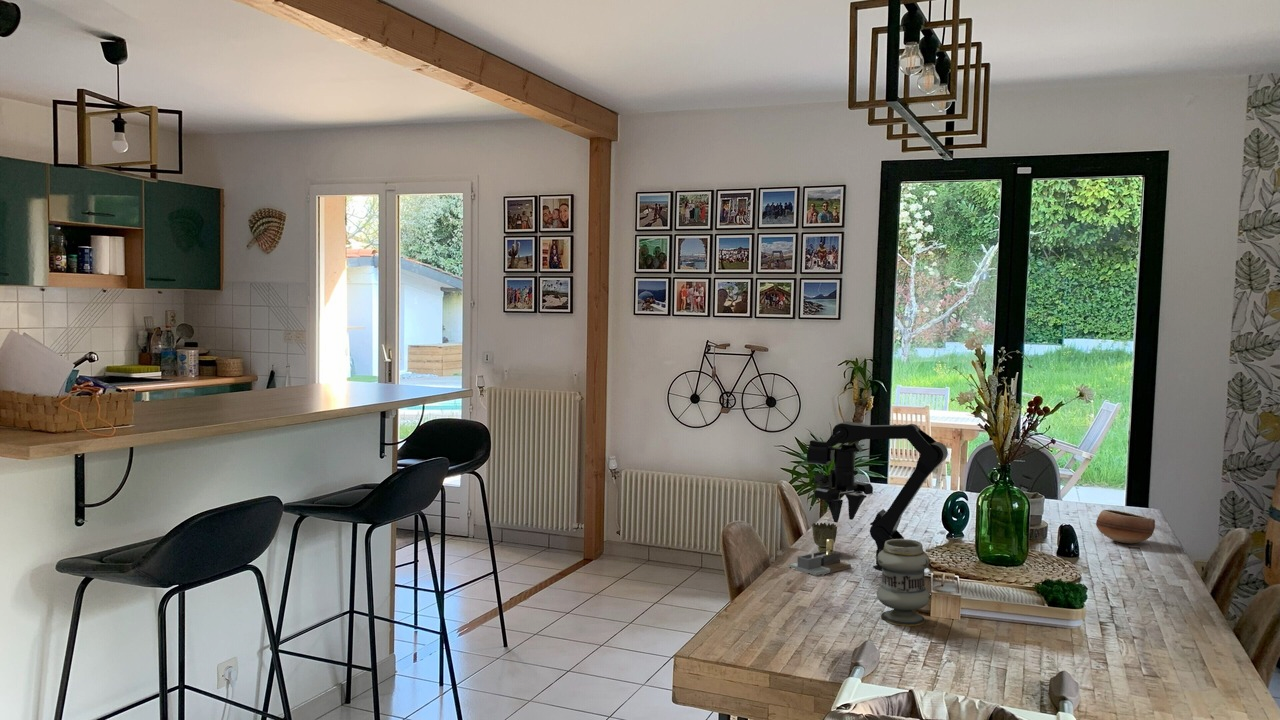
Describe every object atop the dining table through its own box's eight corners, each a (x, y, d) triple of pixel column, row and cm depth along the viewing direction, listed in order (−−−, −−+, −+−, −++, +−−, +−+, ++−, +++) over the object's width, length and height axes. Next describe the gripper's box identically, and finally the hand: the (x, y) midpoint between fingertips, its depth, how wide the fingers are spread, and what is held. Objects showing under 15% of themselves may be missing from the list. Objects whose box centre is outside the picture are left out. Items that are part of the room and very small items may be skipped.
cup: (839, 554, 279) (839, 527, 279) (813, 554, 280) (814, 527, 279) (834, 548, 287) (834, 522, 286) (809, 548, 287) (810, 521, 287)
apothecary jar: (865, 614, 224) (866, 538, 223) (908, 609, 228) (909, 534, 227) (896, 630, 212) (898, 550, 212) (941, 624, 217) (942, 546, 216)
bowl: (1164, 546, 292) (1165, 514, 292) (1126, 550, 286) (1127, 517, 286) (1121, 535, 307) (1122, 504, 306) (1084, 539, 301) (1085, 507, 300)
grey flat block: (850, 567, 265) (850, 554, 265) (831, 572, 260) (831, 558, 260) (823, 560, 273) (823, 547, 273) (804, 564, 268) (804, 551, 268)
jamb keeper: (830, 572, 260) (830, 558, 260) (816, 575, 256) (816, 561, 256) (803, 564, 268) (803, 551, 268) (789, 567, 264) (789, 554, 264)
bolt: (835, 561, 267) (835, 540, 266) (820, 564, 263) (821, 543, 263) (828, 559, 268) (829, 538, 268) (814, 562, 265) (814, 541, 265)
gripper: (844, 460, 281) (843, 512, 282) (800, 465, 270) (799, 520, 271) (874, 464, 272) (873, 518, 273) (830, 471, 261) (829, 527, 262)
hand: (843, 520), depth 270 cm, fingers open, 6 cm apart
